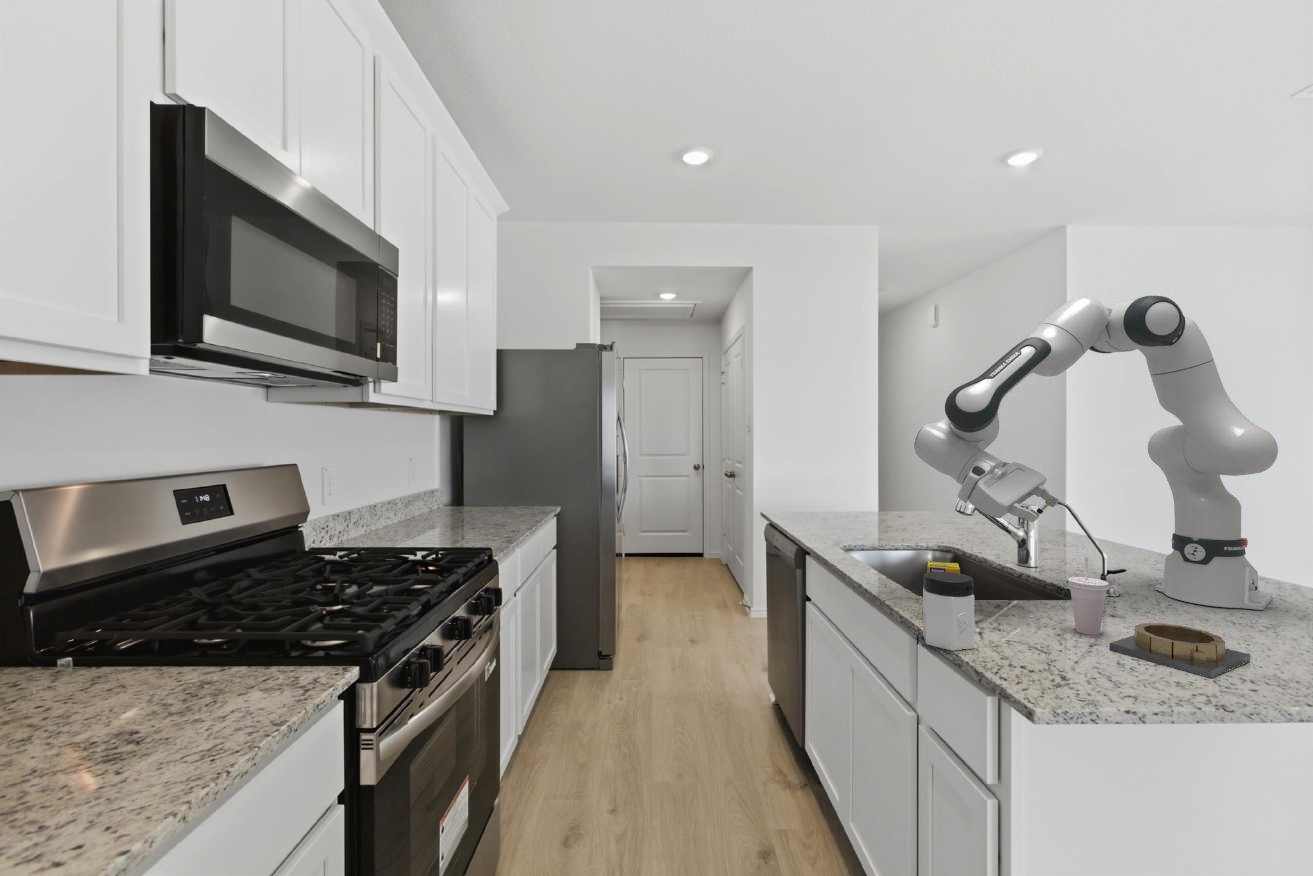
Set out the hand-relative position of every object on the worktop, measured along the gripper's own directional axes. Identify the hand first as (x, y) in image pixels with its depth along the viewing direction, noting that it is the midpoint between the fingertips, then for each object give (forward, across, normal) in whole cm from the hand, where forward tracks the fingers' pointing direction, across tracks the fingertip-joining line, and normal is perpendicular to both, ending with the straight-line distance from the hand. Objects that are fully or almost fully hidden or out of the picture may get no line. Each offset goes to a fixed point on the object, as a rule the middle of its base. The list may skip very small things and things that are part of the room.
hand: (1046, 511), depth 125 cm
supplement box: (-2, +22, -21) cm, 30 cm away
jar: (+4, +34, -14) cm, 37 cm away
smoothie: (+18, +9, -13) cm, 24 cm away
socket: (+29, +10, -6) cm, 32 cm away
